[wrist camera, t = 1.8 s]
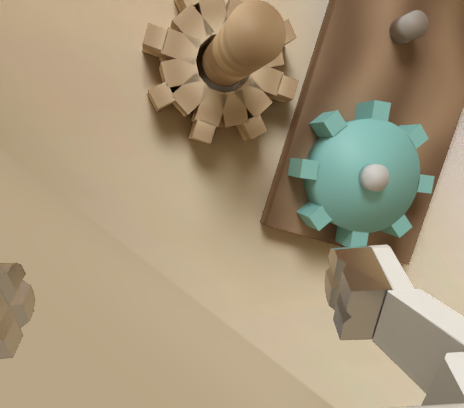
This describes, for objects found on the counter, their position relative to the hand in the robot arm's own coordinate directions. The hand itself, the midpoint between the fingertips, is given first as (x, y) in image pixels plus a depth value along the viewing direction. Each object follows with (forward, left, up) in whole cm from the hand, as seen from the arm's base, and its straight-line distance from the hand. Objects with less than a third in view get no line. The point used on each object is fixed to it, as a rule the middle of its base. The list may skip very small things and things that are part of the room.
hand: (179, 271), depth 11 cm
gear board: (+16, +12, -21) cm, 29 cm away
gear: (+15, +6, -20) cm, 25 cm away
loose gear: (+2, +10, -21) cm, 23 cm away
